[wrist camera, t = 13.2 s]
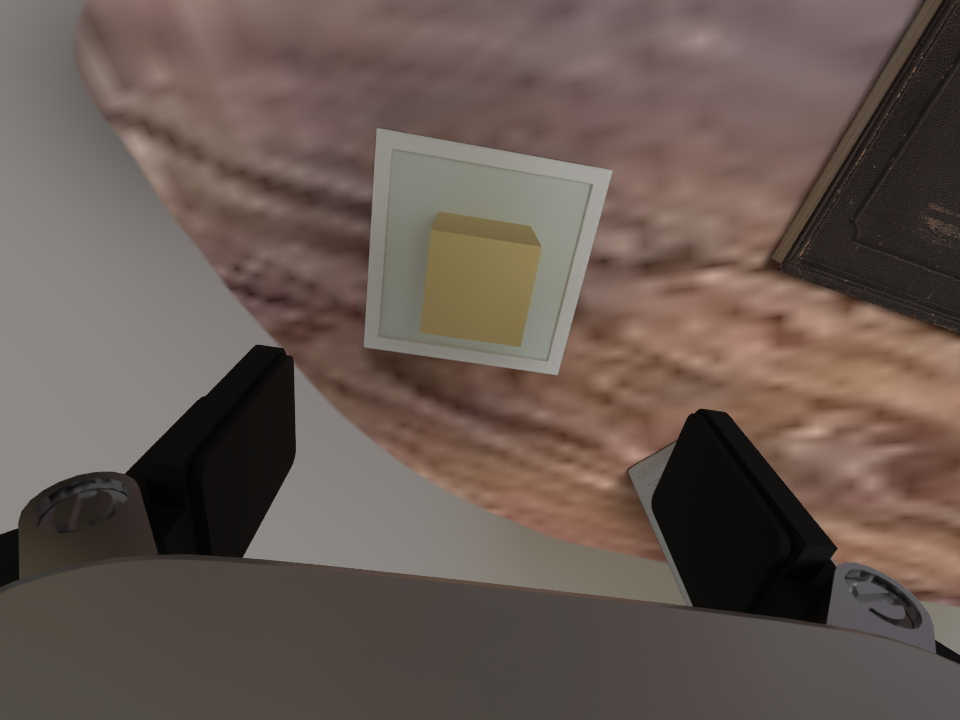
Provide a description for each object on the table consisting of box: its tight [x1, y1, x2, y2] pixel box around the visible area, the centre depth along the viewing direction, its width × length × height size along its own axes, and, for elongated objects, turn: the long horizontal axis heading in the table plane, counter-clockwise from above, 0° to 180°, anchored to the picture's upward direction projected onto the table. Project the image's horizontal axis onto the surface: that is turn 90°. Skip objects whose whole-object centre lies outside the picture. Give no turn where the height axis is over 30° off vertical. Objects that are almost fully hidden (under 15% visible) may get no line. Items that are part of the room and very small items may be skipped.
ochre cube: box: [420, 211, 542, 347], centre depth 24 cm, size 5×5×5 cm
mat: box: [364, 128, 613, 375], centre depth 27 cm, size 12×12×1 cm
